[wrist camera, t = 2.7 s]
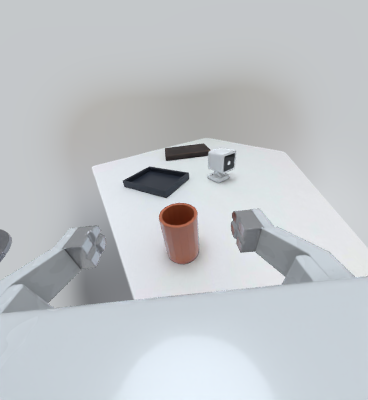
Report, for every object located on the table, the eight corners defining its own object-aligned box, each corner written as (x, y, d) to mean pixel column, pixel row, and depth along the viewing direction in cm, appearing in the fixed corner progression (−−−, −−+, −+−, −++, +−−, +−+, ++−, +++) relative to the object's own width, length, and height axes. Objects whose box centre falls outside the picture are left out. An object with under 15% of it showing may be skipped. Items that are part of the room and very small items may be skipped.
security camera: (221, 185, 49) (222, 154, 44) (206, 178, 54) (206, 150, 49) (233, 178, 52) (236, 149, 47) (218, 173, 57) (219, 146, 51)
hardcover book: (165, 152, 88) (165, 148, 86) (204, 147, 89) (203, 143, 88) (166, 161, 74) (165, 156, 73) (211, 155, 76) (211, 150, 74)
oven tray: (124, 186, 55) (122, 180, 53) (150, 171, 64) (149, 166, 63) (166, 198, 46) (165, 191, 44) (189, 178, 55) (188, 172, 54)
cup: (161, 255, 28) (151, 220, 24) (178, 233, 33) (173, 199, 28) (189, 269, 26) (184, 232, 21) (204, 244, 30) (203, 208, 25)
